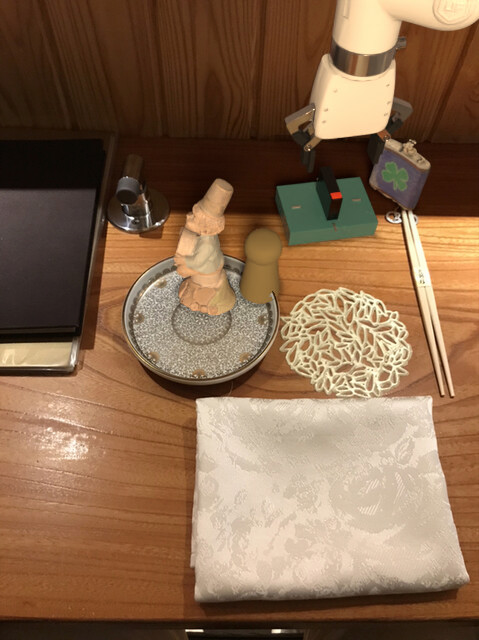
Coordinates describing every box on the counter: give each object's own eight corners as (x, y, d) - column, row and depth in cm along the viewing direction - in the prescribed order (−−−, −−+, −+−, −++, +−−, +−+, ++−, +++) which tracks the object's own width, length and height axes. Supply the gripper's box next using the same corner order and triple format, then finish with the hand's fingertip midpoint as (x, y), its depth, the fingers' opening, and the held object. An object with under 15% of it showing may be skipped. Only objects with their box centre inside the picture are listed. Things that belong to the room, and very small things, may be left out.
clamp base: (355, 187, 95) (359, 173, 92) (375, 238, 89) (379, 224, 86) (274, 196, 93) (275, 182, 91) (289, 248, 88) (291, 235, 85)
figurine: (238, 272, 85) (241, 173, 68) (234, 320, 80) (237, 225, 63) (179, 269, 85) (168, 168, 68) (172, 316, 80) (158, 220, 63)
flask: (365, 183, 95) (380, 132, 86) (376, 175, 97) (392, 123, 88) (409, 213, 92) (430, 163, 83) (419, 204, 93) (441, 154, 84)
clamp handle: (315, 188, 90) (319, 166, 86) (326, 187, 91) (331, 164, 87) (326, 220, 87) (331, 199, 83) (337, 219, 87) (343, 197, 83)
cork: (233, 295, 82) (234, 247, 73) (247, 265, 86) (250, 215, 76) (271, 309, 81) (278, 262, 72) (285, 278, 84) (293, 229, 75)
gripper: (420, 26, 70) (389, 137, 84) (283, 40, 68) (276, 151, 82) (442, 62, 66) (405, 172, 80) (298, 78, 64) (287, 188, 79)
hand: (340, 161), depth 81 cm, fingers open, 9 cm apart
